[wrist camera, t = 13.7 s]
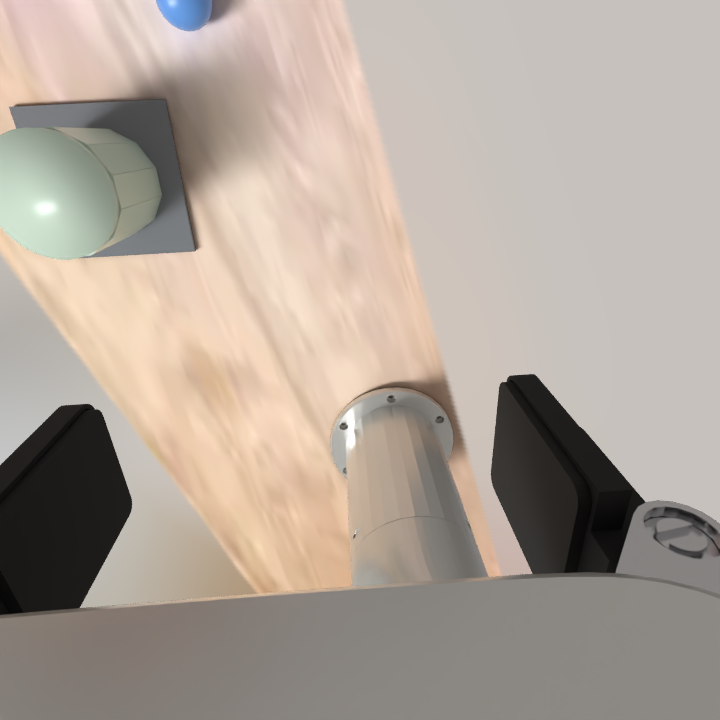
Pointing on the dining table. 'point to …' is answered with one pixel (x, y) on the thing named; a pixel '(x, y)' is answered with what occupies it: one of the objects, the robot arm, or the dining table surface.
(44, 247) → the mint green domed cylinder
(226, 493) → the dining table surface
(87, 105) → the slate mat
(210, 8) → the marble
